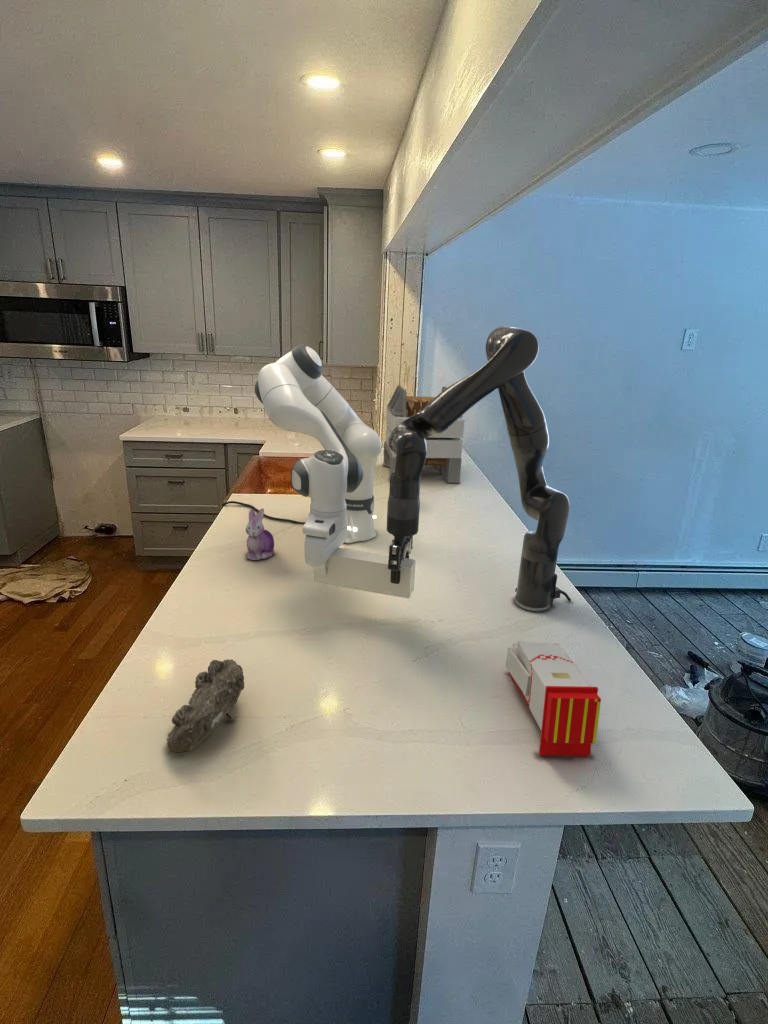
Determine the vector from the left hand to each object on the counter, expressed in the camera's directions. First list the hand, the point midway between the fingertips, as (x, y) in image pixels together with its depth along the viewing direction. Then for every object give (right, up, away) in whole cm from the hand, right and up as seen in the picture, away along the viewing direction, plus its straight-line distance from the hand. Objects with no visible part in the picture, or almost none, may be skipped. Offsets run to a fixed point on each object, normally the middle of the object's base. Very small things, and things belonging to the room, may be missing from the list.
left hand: (327, 569), depth 143 cm
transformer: (+31, +33, +132) cm, 140 cm away
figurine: (-25, +1, +35) cm, 43 cm away
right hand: (+18, -1, -5) cm, 19 cm away
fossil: (-19, -25, -35) cm, 47 cm away
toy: (+46, -25, -28) cm, 60 cm away
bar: (+9, -4, -1) cm, 10 cm away
